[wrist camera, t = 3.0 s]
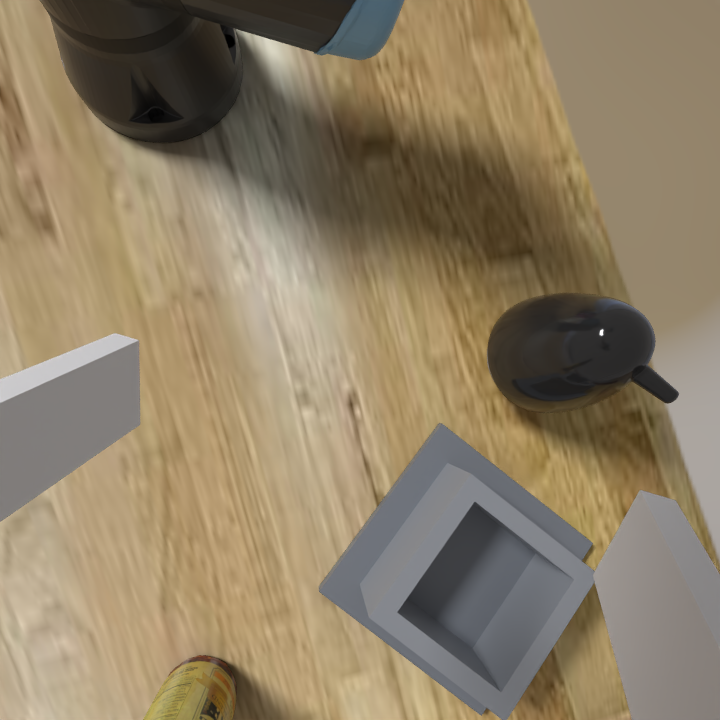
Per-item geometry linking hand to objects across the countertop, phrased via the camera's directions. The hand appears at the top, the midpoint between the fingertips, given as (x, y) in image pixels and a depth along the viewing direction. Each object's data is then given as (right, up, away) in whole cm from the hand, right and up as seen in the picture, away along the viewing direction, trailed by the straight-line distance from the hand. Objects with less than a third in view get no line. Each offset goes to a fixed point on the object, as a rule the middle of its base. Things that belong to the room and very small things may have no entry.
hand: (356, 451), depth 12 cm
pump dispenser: (+16, +2, +32) cm, 36 cm away
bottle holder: (+9, -16, +30) cm, 35 cm away
